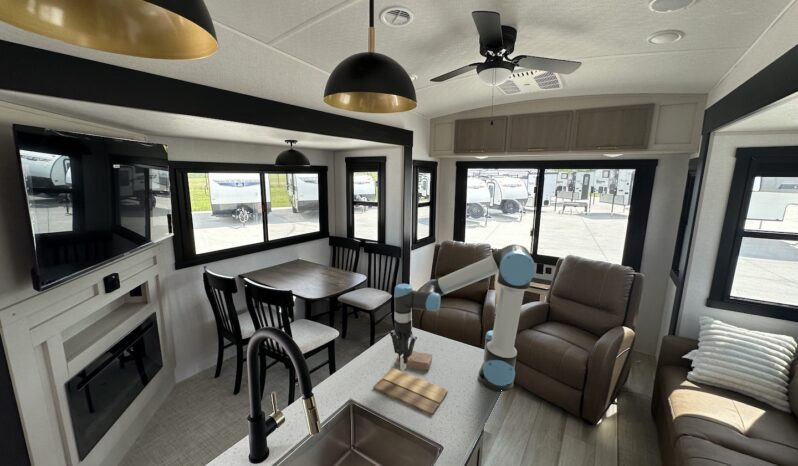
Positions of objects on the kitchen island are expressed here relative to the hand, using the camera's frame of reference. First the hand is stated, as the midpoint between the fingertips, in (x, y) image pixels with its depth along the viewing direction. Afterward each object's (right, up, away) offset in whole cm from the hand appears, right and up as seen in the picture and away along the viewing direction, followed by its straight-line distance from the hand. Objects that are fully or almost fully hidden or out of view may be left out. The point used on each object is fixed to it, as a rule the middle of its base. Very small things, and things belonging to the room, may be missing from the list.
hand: (403, 368), depth 138 cm
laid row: (+1, -8, -10) cm, 13 cm away
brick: (+5, -4, +14) cm, 15 cm away
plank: (+5, -6, -3) cm, 8 cm away
